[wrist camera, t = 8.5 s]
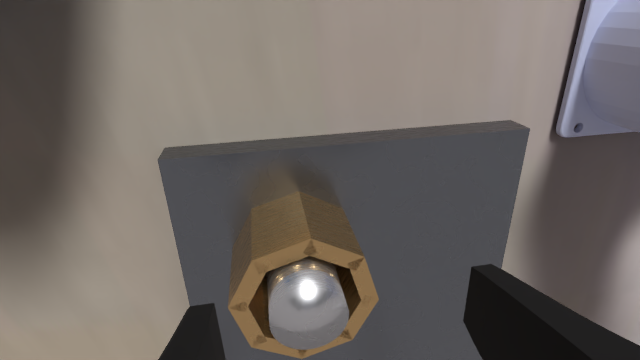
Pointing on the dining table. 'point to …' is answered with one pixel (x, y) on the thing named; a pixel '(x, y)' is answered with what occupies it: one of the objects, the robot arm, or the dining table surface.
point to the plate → (355, 231)
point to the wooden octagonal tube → (289, 246)
